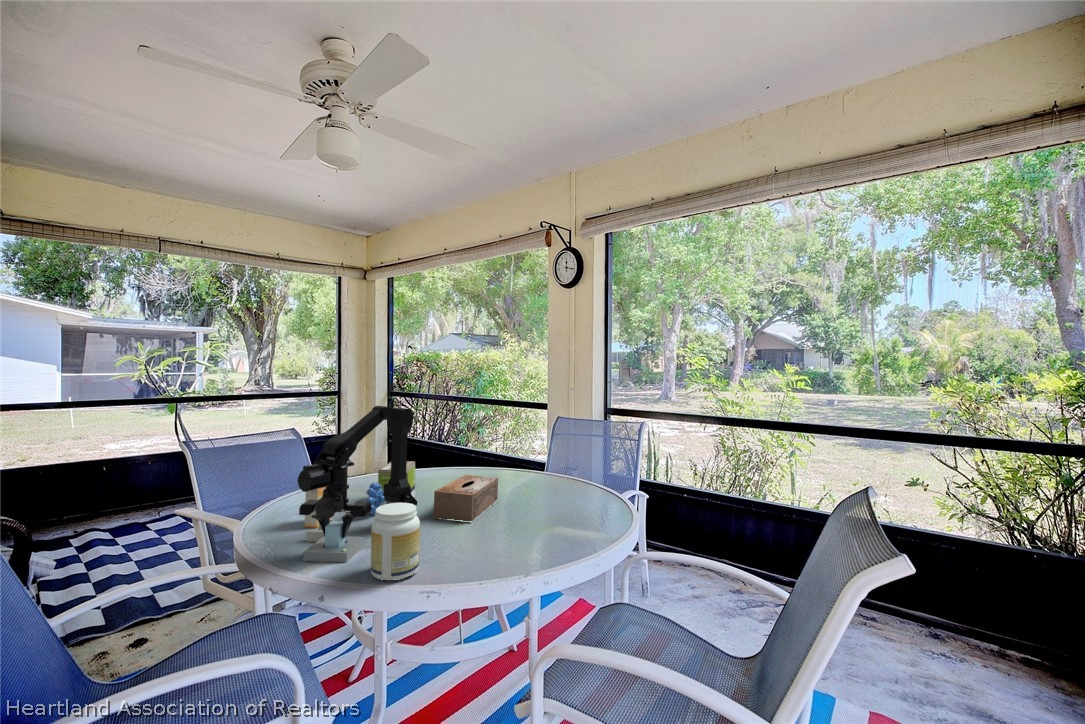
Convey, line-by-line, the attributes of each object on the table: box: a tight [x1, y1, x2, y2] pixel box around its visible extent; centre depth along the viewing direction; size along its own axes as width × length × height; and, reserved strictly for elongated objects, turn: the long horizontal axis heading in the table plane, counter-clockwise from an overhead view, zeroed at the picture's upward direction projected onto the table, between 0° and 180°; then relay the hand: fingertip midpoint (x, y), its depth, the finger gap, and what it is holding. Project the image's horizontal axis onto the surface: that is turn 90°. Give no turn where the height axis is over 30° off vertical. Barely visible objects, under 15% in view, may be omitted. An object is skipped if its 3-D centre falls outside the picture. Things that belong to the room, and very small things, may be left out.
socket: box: [302, 535, 365, 563], centre depth 135 cm, size 12×12×3 cm
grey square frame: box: [306, 521, 332, 543], centre depth 147 cm, size 8×9×3 cm
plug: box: [325, 521, 345, 548], centre depth 135 cm, size 4×4×8 cm
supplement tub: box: [370, 503, 421, 581], centre depth 124 cm, size 12×12×17 cm
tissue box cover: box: [433, 474, 499, 521], centre depth 177 cm, size 26×14×10 cm, turn 165°
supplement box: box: [304, 487, 333, 529], centre depth 159 cm, size 8×5×13 cm, turn 168°
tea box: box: [377, 460, 416, 506], centre depth 184 cm, size 15×10×15 cm
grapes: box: [365, 481, 385, 516], centre depth 168 cm, size 12×7×12 cm, turn 178°
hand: (335, 537), depth 135 cm, fingers open, 5 cm apart
